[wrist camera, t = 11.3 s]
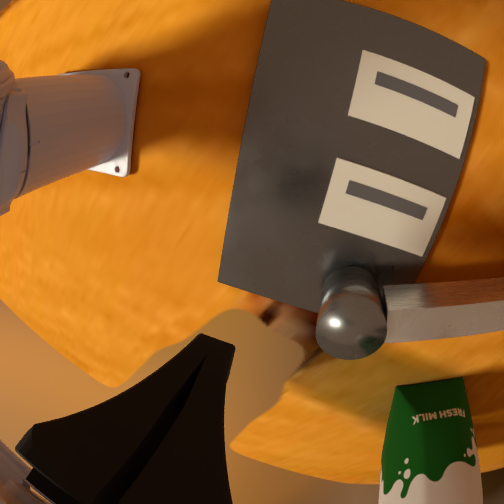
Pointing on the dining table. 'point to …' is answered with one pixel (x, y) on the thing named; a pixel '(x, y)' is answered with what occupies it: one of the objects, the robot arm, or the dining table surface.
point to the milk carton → (430, 447)
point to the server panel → (328, 147)
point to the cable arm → (402, 311)
